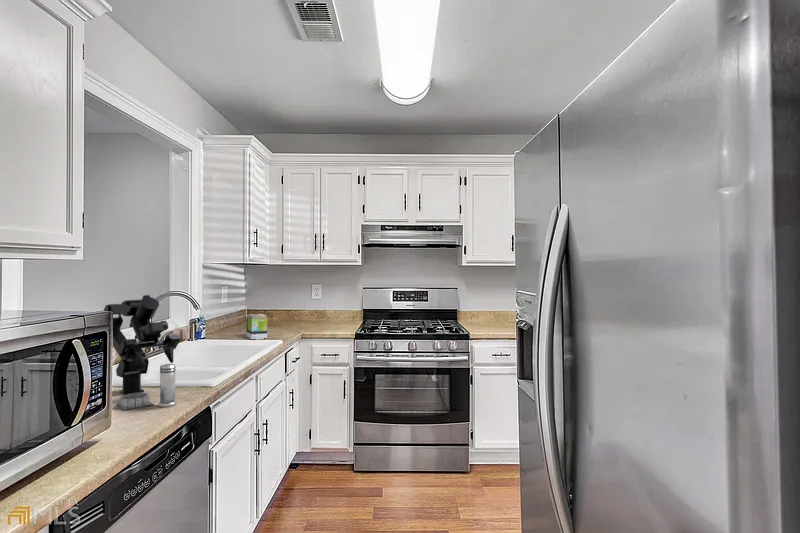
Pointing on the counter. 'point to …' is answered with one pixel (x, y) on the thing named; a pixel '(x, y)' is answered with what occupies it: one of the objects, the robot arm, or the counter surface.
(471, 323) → the counter surface
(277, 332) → the counter surface
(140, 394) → the sleeve
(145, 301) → the robot arm
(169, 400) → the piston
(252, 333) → the tea box
